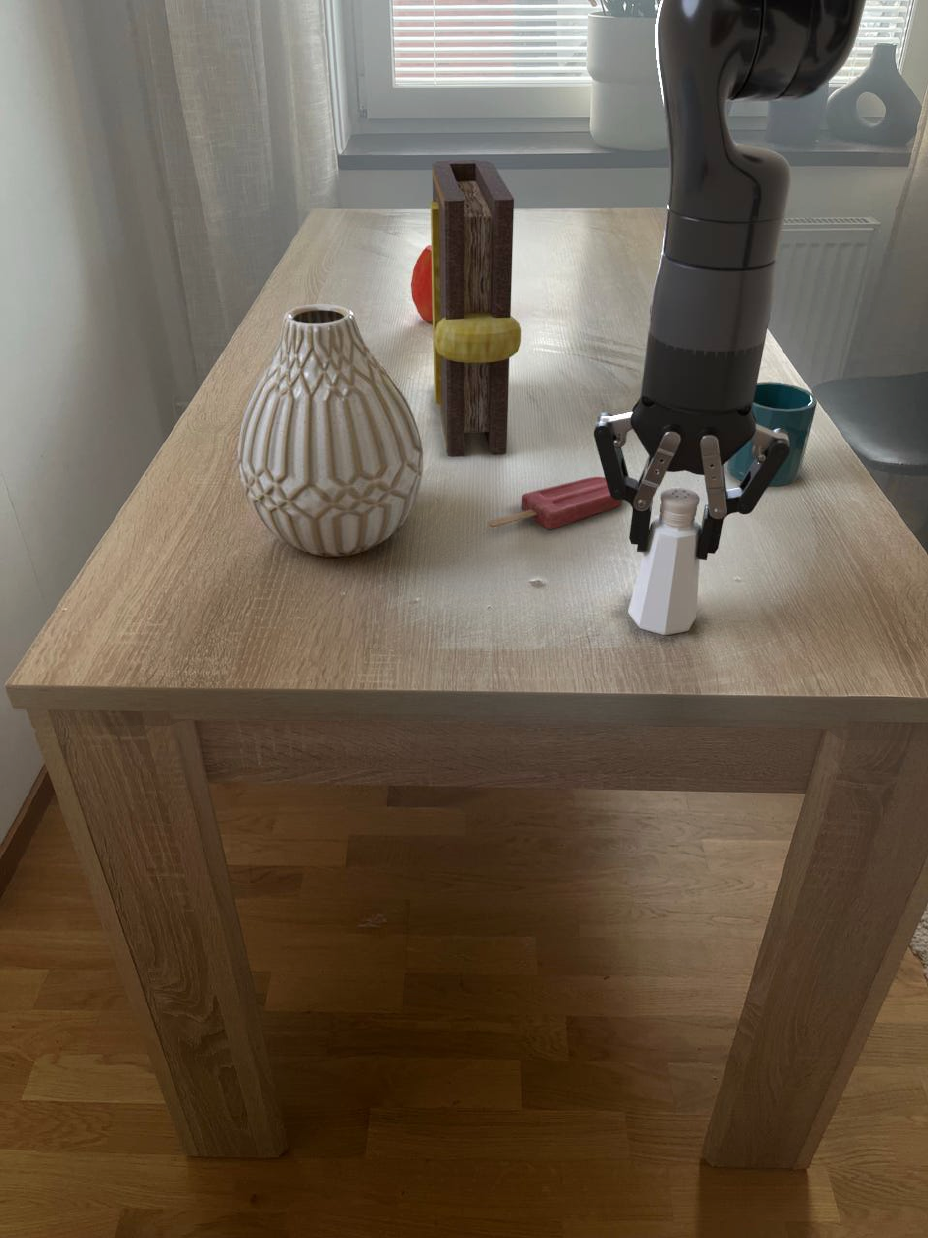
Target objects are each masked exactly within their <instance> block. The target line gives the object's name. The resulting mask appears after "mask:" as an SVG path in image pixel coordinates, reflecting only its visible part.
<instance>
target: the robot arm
mask: <svg viewBox="0 0 928 1238" xmlns="http://www.w3.org/2000/svg"><path fill="white" fill-rule="evenodd" d="M866 2H867V0H661V1H660V4H659V7H658V11H657V12H658V13H657V16H656V17H657V18H656V24H655V48H656V60H657V68H658V77H659V82H660V83H659V84H660V88H661V89H660V90H661V95H662V102H663V108H664V115H665V117H664V118H665V127H666V138H667V151H668V167H669V169H668V170H669V190H668V198H667V207H666V217H665V223H664V233H663V239H662V247H661V249H662V252H661V255H660V261H659V265H658V269H657V273H656V277H655V281H654V285H653V291H652V298H651V305H650V306H649V307H650V308H649V322H648V323H649V324H648V330H647V339H646V348H645V354H644V355H645V357H644V365H643V372H642V381H641V390H640V396H639V399H638V400H637V402H636V403H635V404H634V405H633V408H632V410H631V411H629V412H626V413H621V414H618V415H613V414H612V413H610V412H608V411H604V412H601V413H600V414H599V415H598V416H597V418H596V422H595V426H594V430H593V438H594V440H595V441H594V442H595V446H596V449H597V452H598V456H599V459H600V463H601V467H602V470H603V474H604V477H605V478H606V482H607V485H608V489H609V493H610V496H611V497H612V498H613V499H614V500H622V501H625V502H626V503H628V504H629V505H630V506H631V508H632V513H631V519H630V520H631V521H630V528H629V537H628V539H629V542H630V545H634V546H635V545H636V546H637V548H636V552H637V553H642V554H643V553H646V549H647V541H648V534H649V529H650V526H651V520H652V512H653V504H654V497H655V496H656V493H657V490H658V489H659V487H660V486H661V484H662V482H663V480H664V477H665V475H666V473H668V472H669V473H677V472H685V471H686V472H688V473H691V474H694V475H698V476H699V475H700V476H704V484H705V491H706V496H707V503H705V504H704V509H703V514H702V521H701V525H700V526H701V536H700V542H699V549H698V555H697V559H700V561H701V560H702V561H707V560H708V557H709V554H710V555H711V554H712V555H715V554H716V553H717V551H718V550H719V548H720V541H721V536H722V531H723V526H724V521H725V519H726V518H727V516H729V515H731V514H735V513H739V514H740V515H749V514H751V513H752V512H753V511H754V509H755V508H756V506H757V504H758V503H759V501H760V500H761V498H762V497H763V496H764V494H765V492H766V491H767V489H768V487H770V486H769V484H770V483H771V481H772V480H773V478H774V477H775V475H776V474H777V472H778V470H779V469H780V467H781V466H782V464H783V463H784V461H785V460H786V458H787V457H788V455H789V453H790V447H789V446H790V445H789V438H788V433H787V432H786V431H785V430H784V429H776V430H774V431H772V430H770V429H767V428H765V427H763V426H760V425H758V424H756V419H755V416H754V413H753V410H752V406H753V401H754V395H755V390H756V385H757V383H758V380H759V374H760V369H761V365H762V358H763V354H764V349H765V344H766V338H767V334H768V330H769V329H768V328H769V324H770V321H771V315H772V314H771V313H772V308H773V302H774V296H775V283H776V282H775V280H776V268H777V261H778V260H777V258H778V255H779V251H780V246H781V239H782V234H783V229H784V224H785V220H786V219H785V218H786V213H787V208H788V203H789V197H790V193H791V185H792V169H791V166H790V163H789V161H788V160H787V159H786V157H785V156H784V155H782V154H780V153H779V152H776V151H774V150H771V149H768V148H764V147H762V146H761V147H760V146H757V145H752V144H747V143H743V142H738V141H734V139H733V137H732V135H731V131H730V128H729V124H728V119H727V103H745V102H785V101H795V100H800V99H804V98H807V97H809V96H812V95H813V94H815V93H816V92H818V91H819V90H821V89H822V88H823V87H825V85H827V84H828V83H829V82H830V81H831V80H832V79H834V77H836V75H837V74H838V73H839V72H840V71H841V69H842V68H843V67H844V65H845V64H846V62H847V61H848V59H849V57H850V55H851V53H852V50H853V48H854V47H855V43H856V40H857V37H858V34H859V30H860V28H861V27H860V26H861V23H862V18H863V14H864V10H865V7H866ZM631 430H633V431H634V433H635V435H636V436H637V438H638V440H639V441H640V443H641V445H642V446H643V448H644V449H645V451H646V453H647V454H648V456H647V458H646V461H645V464H644V467H643V470H642V472H641V475H640V476H639V479H638V480H637V479H635V478H632V477H630V475H629V471H628V468H627V464H626V460H625V456H624V452H623V448H622V447H624V446H625V445H626V443H627V439H628V433H629V432H630V431H631ZM750 440H751V441H752V442H753V443H754V446H753V457H754V459H755V460H754V462H753V463H752V465H751V466H750V468H749V470H748V471H747V473H746V475H745V476H744V478H743V479H742V481H741V480H740V482H739V484H738V486H737V487H736V488H731V489H727V486H726V485H727V484H726V475H725V464H727V461H728V460H729V459H730V458H731V457H732V456H733V455H735V454H736V453H737V452H738V451H739V450H740V449H741V448H742V447H743V446H744V445H745V444H747V443H748V442H749V441H750Z"/></svg>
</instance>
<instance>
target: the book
mask: <svg viewBox="0 0 928 1238" xmlns="http://www.w3.org/2000/svg"><path fill="white" fill-rule="evenodd" d="M514 213H515V197H513V195H512V193H511V192H510V189H509V188H508V187H507V185H506V184H505V182H504V180H503V178H502V176H501V175H500V173H499V172H498V170H497V168H496V167H495V164H494V163H493V162H490V161H487V160H479V159H478V160H476V159H467V160H466V159H464V160H463V159H462V160H459V159H458V160H455V159H454V160H441V161H435V162H434V163H432V201H430V232H431V233H430V234H431V237H430V238H431V239H430V241H431V243H430V245H432V295H433V323H432V339H433V342H432V343H433V344H432V345H433V346H432V347H433V388H434V389H433V390H434V391H433V392H434V399H435V405H438V408H439V414H440V420H441V426H442V432H443V438H444V443H445V449H446V456H448V457H462V456H464V455H465V434H474V433H484V435H485V439H486V443H487V447H488V453H489V454H490V455H505V454H506V453H508V452H507V451H508V450H507V449H508V420H509V419H508V417H509V415H508V414H509V412H508V411H509V386H510V385H509V381H510V380H509V379H510V376H509V375H510V358H511V357H513V356H515V355H516V354H517V353H518V352H519V351H520V347H521V344H522V326H521V323H520V322H519V320H517V319H516V318H515V317H514V316H512V315H511V314H512V313H511V312H512V283H513V282H512V281H513V280H512V279H513V253H514V252H513V247H514V219H515V218H514V216H515V215H514Z"/></svg>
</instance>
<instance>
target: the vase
mask: <svg viewBox="0 0 928 1238" xmlns="http://www.w3.org/2000/svg"><path fill="white" fill-rule="evenodd" d="M282 318H283V319H282V323H281V328H280V332H279V333H280V334H279V339H278V342H277V345H276V349H275V351H274V353H273V355H272V358H271V359H270V360H269V362H268V363H267V365H266V366H265V368H264V370H263V371H262V373H261V374H260V376H259V378H258V380H257V382H256V384H255V386H254V388H253V389H252V392H251V394H250V396H249V398H248V400H247V403H246V405H245V409H244V412H243V416H242V419H241V424H240V428H239V435H238V442H237V454H236V456H237V458H236V459H237V470H238V474H239V479H240V482H241V486H242V490H243V492H244V495H245V497H246V500H247V502H248V504H249V506H250V507H251V509H252V511H253V513H254V514H255V516H256V517H257V518H258V520H259V521H260V523H262V525H263V526H264V527H265V528H266V529H267V530H268V531H269V532H270V533H271V534H272V535H273V536H275V537H276V538H278V539H279V540H280V541H281V542H283V543H285V544H286V545H288V546H290V547H293V548H295V549H297V550H299V551H302V552H304V553H307V554H311V555H314V556H319V557H325V558H326V557H329V558H331V557H333V558H336V557H337V558H338V557H347V556H353V555H357V554H360V553H364V552H366V551H368V550H370V549H372V548H374V547H376V546H377V545H379V544H380V543H382V542H384V541H385V540H386V539H388V538H390V537H391V536H392V535H393V534H394V533H395V532H396V531H397V530H398V529H400V527H401V526H402V525H403V524H404V523H405V521H406V519H407V518H408V516H409V514H410V513H411V511H412V509H413V507H414V505H415V503H416V501H417V499H418V495H419V492H420V489H421V486H422V485H421V484H422V479H423V472H424V449H423V442H422V438H421V434H420V431H419V430H420V429H419V427H418V424H417V421H416V419H415V416H414V413H413V411H412V408H411V406H410V404H409V402H408V399H407V398H406V396H405V395H404V393H403V391H402V390H401V388H400V386H399V385H398V384H397V382H396V381H395V379H394V378H393V376H392V375H391V374H390V372H389V371H388V370H387V369H386V368H385V366H384V365H383V364H382V363H381V362H380V360H379V359H378V358H377V357H376V356H375V355H374V354H373V353H372V351H371V349H370V348H369V347H368V346H367V344H366V342H365V340H364V338H363V335H362V334H361V330H360V328H359V326H358V323H357V320H356V318H355V316H354V314H353V312H352V311H351V309H349V308H347V307H345V306H342V305H338V304H330V303H314V304H313V303H312V304H306V305H299V306H297V307H294V308H292V309H290V310H288V311H287V312H286V313H284V315H283V317H282Z"/></svg>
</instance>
